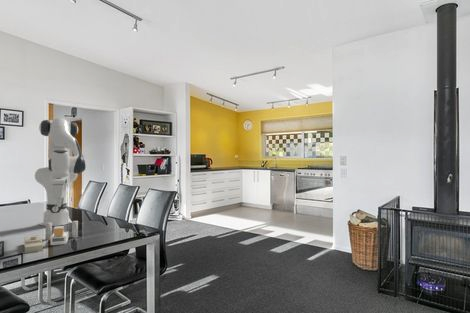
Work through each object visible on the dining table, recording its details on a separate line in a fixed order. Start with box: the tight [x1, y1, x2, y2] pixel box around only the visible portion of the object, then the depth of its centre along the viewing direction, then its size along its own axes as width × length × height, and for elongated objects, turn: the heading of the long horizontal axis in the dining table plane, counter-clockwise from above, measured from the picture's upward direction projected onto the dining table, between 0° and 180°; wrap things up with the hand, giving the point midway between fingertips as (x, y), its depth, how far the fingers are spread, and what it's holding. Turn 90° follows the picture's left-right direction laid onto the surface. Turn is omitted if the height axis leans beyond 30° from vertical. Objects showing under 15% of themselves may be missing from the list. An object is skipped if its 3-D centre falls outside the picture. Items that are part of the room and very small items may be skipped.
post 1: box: [45, 223, 53, 241], centre depth 169 cm, size 3×3×9 cm
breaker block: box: [49, 230, 70, 246], centre depth 164 cm, size 12×7×4 cm, turn 23°
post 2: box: [71, 220, 79, 239], centre depth 174 cm, size 3×3×9 cm
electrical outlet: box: [23, 235, 44, 254], centre depth 154 cm, size 7×4×18 cm
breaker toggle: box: [53, 225, 65, 236], centre depth 161 cm, size 2×4×4 cm, turn 113°
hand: (60, 205), depth 164 cm, fingers open, 8 cm apart
